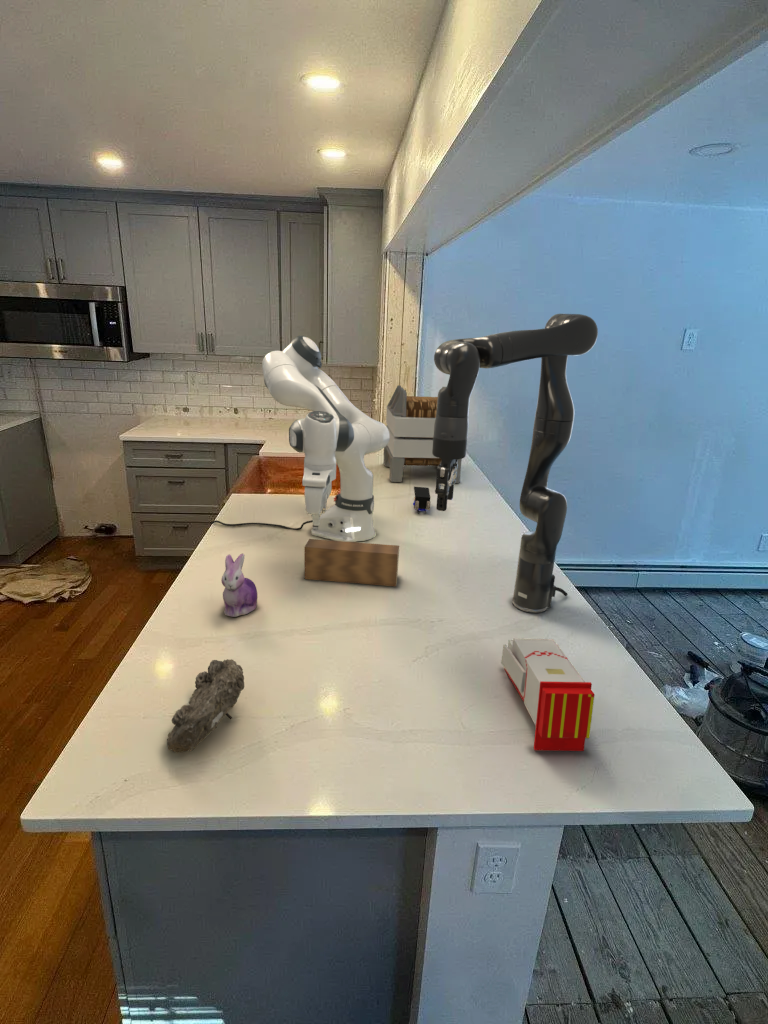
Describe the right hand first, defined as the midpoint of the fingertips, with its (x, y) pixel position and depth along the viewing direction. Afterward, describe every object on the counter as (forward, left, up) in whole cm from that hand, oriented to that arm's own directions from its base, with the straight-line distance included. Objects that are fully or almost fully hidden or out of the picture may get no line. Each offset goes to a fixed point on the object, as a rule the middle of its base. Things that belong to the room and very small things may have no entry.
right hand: (444, 504), depth 131 cm
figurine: (+45, -22, -33) cm, 60 cm away
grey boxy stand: (-53, -131, -33) cm, 145 cm away
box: (+12, -32, -33) cm, 47 cm away
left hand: (+21, -36, -15) cm, 44 cm away
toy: (-8, +32, -33) cm, 47 cm away
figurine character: (-32, -82, -33) cm, 94 cm away
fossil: (+55, +18, -33) cm, 66 cm away
